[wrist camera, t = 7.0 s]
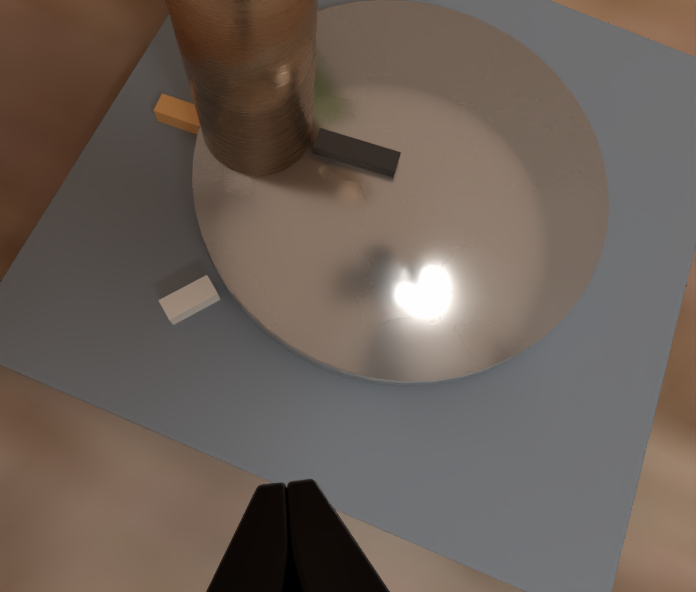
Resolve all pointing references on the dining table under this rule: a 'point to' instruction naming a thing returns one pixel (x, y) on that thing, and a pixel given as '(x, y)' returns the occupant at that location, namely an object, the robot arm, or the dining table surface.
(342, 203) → the dial
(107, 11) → the dining table surface
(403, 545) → the dining table surface
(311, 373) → the dial board
